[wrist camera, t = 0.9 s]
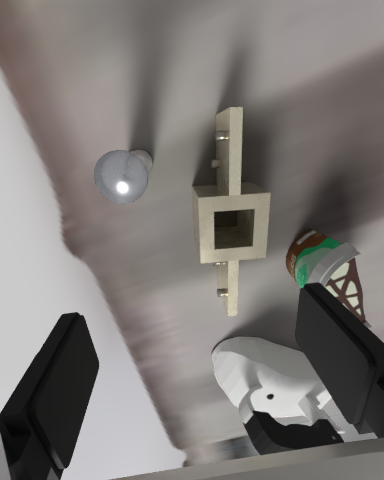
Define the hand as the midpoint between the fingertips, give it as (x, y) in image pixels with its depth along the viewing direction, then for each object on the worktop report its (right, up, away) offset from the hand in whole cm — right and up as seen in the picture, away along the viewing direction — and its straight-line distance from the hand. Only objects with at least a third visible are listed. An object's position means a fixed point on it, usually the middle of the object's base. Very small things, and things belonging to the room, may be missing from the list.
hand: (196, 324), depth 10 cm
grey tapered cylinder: (-7, +13, +19) cm, 24 cm away
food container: (+16, 0, +27) cm, 31 cm away
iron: (+14, -20, +35) cm, 43 cm away
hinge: (+4, +7, +22) cm, 24 cm away
